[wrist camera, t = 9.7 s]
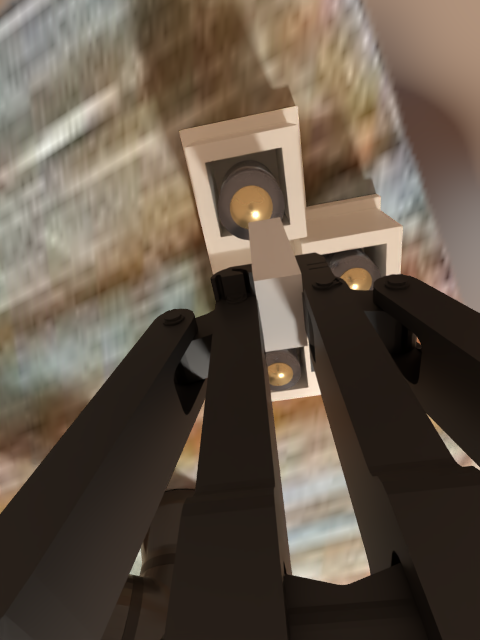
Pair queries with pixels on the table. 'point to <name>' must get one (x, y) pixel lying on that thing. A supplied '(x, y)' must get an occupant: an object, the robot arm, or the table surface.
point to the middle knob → (353, 268)
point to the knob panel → (298, 220)
